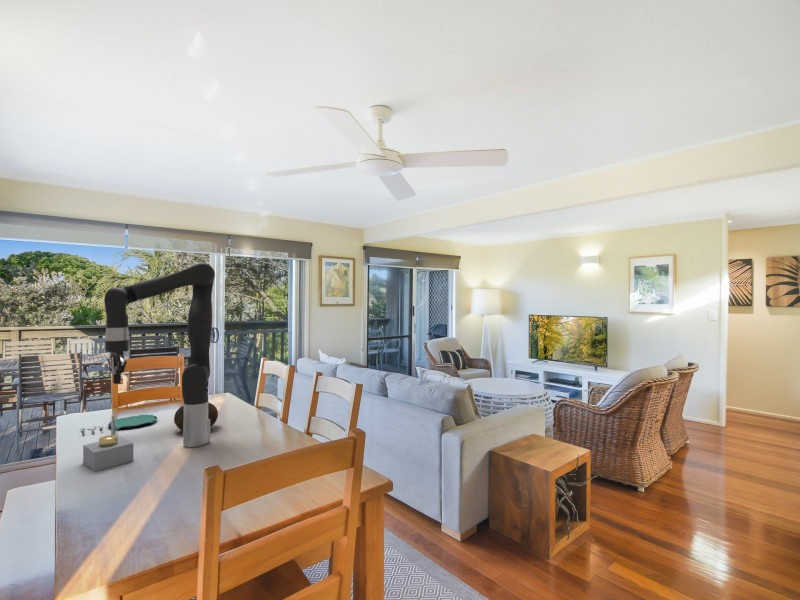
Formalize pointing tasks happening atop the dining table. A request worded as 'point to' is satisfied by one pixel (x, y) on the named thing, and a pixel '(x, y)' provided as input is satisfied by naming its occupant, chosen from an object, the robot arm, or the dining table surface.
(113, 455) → the slate block
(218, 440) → the dining table surface
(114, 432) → the tow hook
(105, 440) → the brass knob
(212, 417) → the dark brown ellipsoid
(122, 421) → the cutlery set
